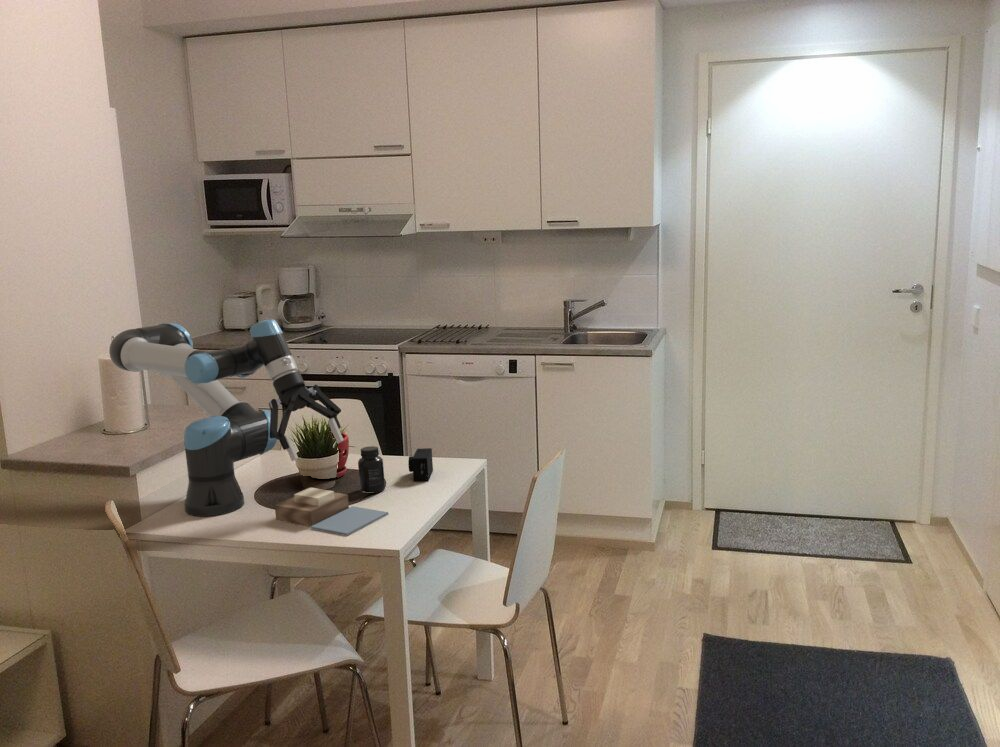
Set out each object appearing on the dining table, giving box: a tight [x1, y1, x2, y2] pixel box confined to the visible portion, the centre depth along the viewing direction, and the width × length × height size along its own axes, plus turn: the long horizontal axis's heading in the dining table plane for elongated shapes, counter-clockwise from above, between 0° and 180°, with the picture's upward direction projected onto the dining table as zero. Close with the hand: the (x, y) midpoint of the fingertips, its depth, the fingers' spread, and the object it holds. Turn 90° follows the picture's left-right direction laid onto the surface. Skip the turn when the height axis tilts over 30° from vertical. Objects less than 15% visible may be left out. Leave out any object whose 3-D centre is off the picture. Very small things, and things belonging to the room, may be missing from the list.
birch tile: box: [293, 487, 335, 506], centre depth 227 cm, size 8×6×2 cm
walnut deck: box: [274, 491, 350, 528], centre depth 228 cm, size 12×14×4 cm
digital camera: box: [407, 447, 434, 483], centre depth 257 cm, size 10×5×7 cm, turn 177°
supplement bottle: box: [357, 445, 386, 494], centre depth 245 cm, size 7×7×12 cm
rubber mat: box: [310, 505, 389, 537], centre depth 222 cm, size 12×16×1 cm
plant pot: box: [332, 431, 350, 478], centre depth 261 cm, size 13×13×12 cm
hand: (318, 450), depth 231 cm, fingers open, 13 cm apart
